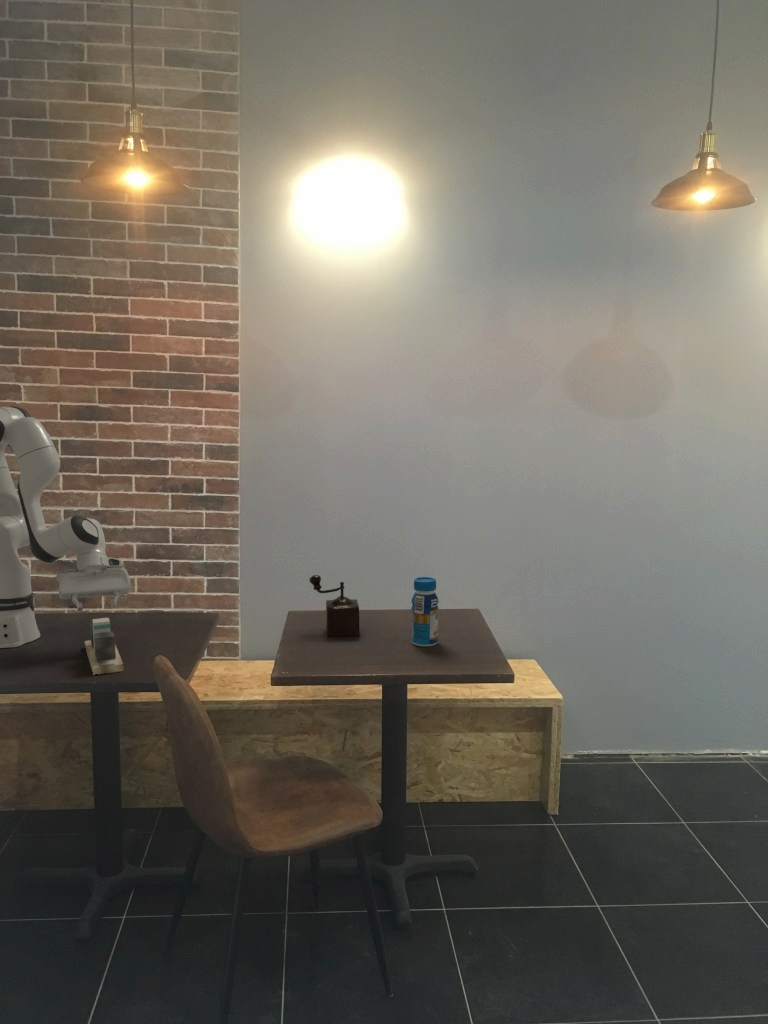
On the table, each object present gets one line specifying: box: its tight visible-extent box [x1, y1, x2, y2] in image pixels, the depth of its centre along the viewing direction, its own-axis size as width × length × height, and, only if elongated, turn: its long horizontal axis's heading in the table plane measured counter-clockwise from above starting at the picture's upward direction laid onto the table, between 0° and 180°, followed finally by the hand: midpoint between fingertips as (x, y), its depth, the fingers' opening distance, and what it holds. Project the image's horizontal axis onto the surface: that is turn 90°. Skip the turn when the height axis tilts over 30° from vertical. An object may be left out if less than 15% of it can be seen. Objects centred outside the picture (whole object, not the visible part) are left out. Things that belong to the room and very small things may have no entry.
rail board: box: [84, 620, 125, 676], centre depth 238 cm, size 8×26×9 cm, turn 24°
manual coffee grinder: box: [309, 574, 361, 638], centre depth 262 cm, size 16×11×18 cm
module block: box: [91, 617, 111, 651], centre depth 237 cm, size 4×4×9 cm
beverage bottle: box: [410, 576, 440, 647], centre depth 250 cm, size 8×8×20 cm
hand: (97, 608), depth 241 cm, fingers open, 8 cm apart
